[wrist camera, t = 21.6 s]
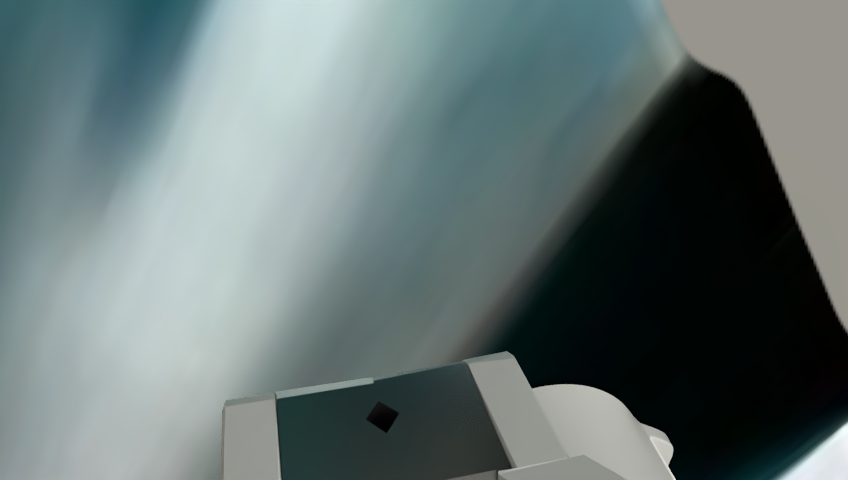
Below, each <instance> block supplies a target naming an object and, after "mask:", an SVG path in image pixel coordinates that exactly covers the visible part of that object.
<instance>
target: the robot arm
mask: <svg viewBox="0 0 848 480" xmlns="http://www.w3.org/2000/svg"><path fill="white" fill-rule="evenodd" d="M672 455H673V446H672V445H671V443H670V441H669V439H668V437H667V436H666V434H665V433H663V432H662V431H660V430H658V429H655V428H653V427H650V426H647V425H644V424H641V423H640V422H638V421H637V420H636V419H635V418H634V417H633V415H632V414H631V413H630V411H629V410H628V409H627V408H626V406H625V405H624V404H623V403H622V402H620V401H619V400H618V399H617V398H615V397H614V396H612V395H610V394H608V393H606V392H604V391H602V390H599V389H596V388H592V387H588V386H583V385H573V384H560V385H549V386H542V387H537V388H533V389H532V388H531V387H530V385H529V383H528V381H527V379H526V377H525V376H524V374H523V372H522V370H521V368H520V366H519V365H518V363H517V361H516V359H515V357H514V356H513V355H512V354H510V353H508V352H507V351H506V352H501V353H496V354H491V355H486V356H481V357H476V358H471V359H466V360H463V361H462V362H457V363H451V364H446V365H440V366H435V367H429V368H423V369H418V370H412V371H407V372H401V373H396V374H390V375H385V376H379V377H373V378H372V377H371V378H365V379H358V380H352V381H345V382H338V383H332V384H325V385H318V386H312V387H305V388H299V389H292V390H285V391H279V392H277V396H276V394H274V393H270V394H263V395H257V396H251V397H244V398H238V399H232V400H226V402H225V405H224V407H223V410H222V441H221V480H676V479H675V478H674V476H673V474H672V472H671V471H670V469H669V467H668V465H669V462H670V460H671V457H672Z"/></svg>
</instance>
